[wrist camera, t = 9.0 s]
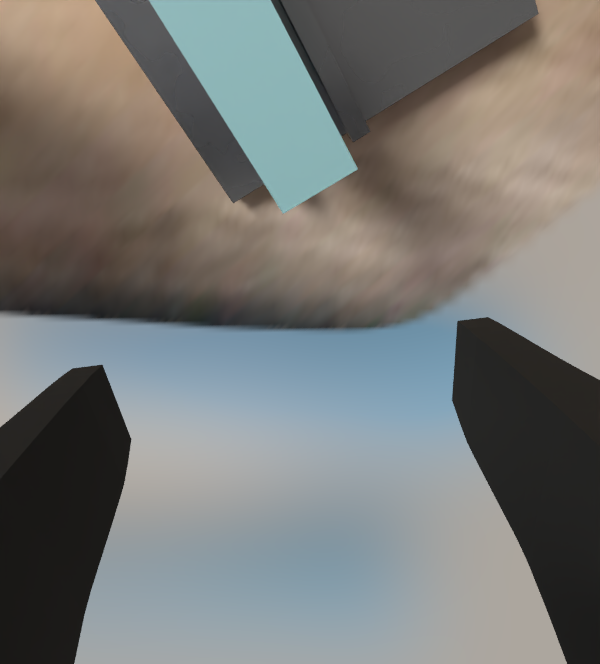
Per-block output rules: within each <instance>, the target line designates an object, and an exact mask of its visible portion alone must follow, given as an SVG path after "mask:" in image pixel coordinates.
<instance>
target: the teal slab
mask: <svg viewBox="0 0 600 664" xmlns="http://www.w3.org/2000/svg"><path fill="white" fill-rule="evenodd" d="M149 1H150V3H151V5H152V6H153V8H154V9H155V11H156V13H157V14H158V16H159V17H160V19H161V21H162V22H163V24H164V25H165V27H166V29H167V30H168V32H169V33H170V35H171V36H172V38H173V40H174V41H175V43H176V44H177V46H178V48H179V49H180V51H181V52H182V54H183V56H184V57H185V59H186V60H187V62H188V63H189V65H190V67H191V68H192V70H193V71H194V73H195V75H196V76H197V78H198V79H199V81H200V83H201V84H202V86H203V87H204V89H205V90H206V92H207V94H208V95H209V97H210V98H211V100H212V102H213V103H214V105H215V106H216V108H217V110H218V111H219V113H220V114H221V116H222V118H223V119H224V121H225V122H226V124H227V125H228V127H229V129H230V130H231V132H232V133H233V135H234V137H235V138H236V140H237V141H238V143H239V145H240V146H241V148H242V149H243V151H244V152H245V154H246V156H247V157H248V159H249V160H250V162H251V164H252V165H253V167H254V168H255V170H256V172H257V173H258V175H259V176H260V178H261V180H262V181H263V183H264V184H265V186H266V187H267V189H268V191H269V192H270V194H271V195H272V197H273V199H274V200H275V202H276V203H277V205H278V207H279V208H280V210H281V211H282V213H283V214H284V213H285V212H287V211H289V210H290V209H292V208H294V207H295V206H297V205H299V204H300V203H302V202H304V201H306V200H307V199H309V198H311V197H312V196H314V195H316V194H317V193H319V192H321V191H322V190H324V189H326V188H327V187H329V186H331V185H332V184H334V183H336V182H337V181H339V180H341V179H342V178H344V177H346V176H347V175H349V174H351V173H352V172H354V171H356V170H357V169H358V168H357V166H356V164H355V162H354V160H353V158H352V157H351V155H350V153H349V151H348V149H347V147H346V145H345V143H344V141H343V139H342V137H341V135H340V133H339V131H338V129H337V128H336V126H335V124H334V122H333V120H332V118H331V116H330V114H329V112H328V110H327V108H326V106H325V104H324V102H323V100H322V99H321V97H320V95H319V93H318V91H317V89H316V87H315V85H314V83H313V81H312V79H311V77H310V75H309V73H308V71H307V70H306V68H305V66H304V64H303V62H302V60H301V58H300V56H299V54H298V52H297V50H296V48H295V46H294V44H293V42H292V41H291V39H290V37H289V35H288V33H287V31H286V29H285V27H284V25H283V23H282V21H281V19H280V17H279V15H278V13H277V12H276V10H275V8H274V6H273V4H272V2H271V0H149Z"/></svg>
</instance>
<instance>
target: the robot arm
mask: <svg viewBox="0 0 600 664" xmlns="http://www.w3.org/2000/svg"><path fill="white" fill-rule="evenodd" d="M456 338H457V339H456V353H455V366H454V367H455V368H454V382H453V397H452V401H453V404H454V406H455V410H456V413H457V416H458V418H459V421H460V424H461V427H462V430H463V432H464V435H465V438H466V440H467V443H468V444H469V447H470V449H471V451H472V453H473V455H474V457H475V459H476V461H477V463H478V465H479V467H480V469H481V470H482V472H483V474H484V476H485V478H486V480H487V482H488V484H489V486H490V488H491V490H492V492H493V493H494V496H495V497H496V499H497V501H498V503H499V505H500V507H501V509H502V511H503V513H504V515H505V517H506V519H507V520H508V522H509V524H510V526H511V528H512V530H513V531H514V534H515V536H516V538H517V540H518V542H519V544H520V546H521V548H522V550H523V553H524V555H525V557H526V559H527V561H528V564H529V566H530V569H531V571H532V573H533V576H534V579H535V581H536V583H537V586H538V589H539V591H540V594H541V596H542V599H543V601H544V603H545V606H546V609H547V611H548V614H549V617H550V619H551V622H552V624H553V627H554V630H555V632H556V635H557V638H558V640H559V643H560V646H561V648H562V651H563V654H564V656H565V659H566V661H567V664H600V380H598V379H596V378H595V377H593V376H591V375H589V374H587V373H585V372H583V371H581V370H580V369H578V368H576V367H574V366H572V365H571V364H569V363H567V362H565V361H563V360H562V359H560V358H558V357H556V356H555V355H553V354H551V353H550V352H548V351H546V350H544V349H543V348H541V347H539V346H538V345H536V344H534V343H532V342H531V341H529V340H527V339H526V338H524V337H522V336H521V335H519V334H517V333H515V332H514V331H512V330H510V329H509V328H507V327H505V326H503V325H502V324H500V323H498V322H496V321H494V320H492V319H490V318H488V317H487V318H479V319H470V320H462V321H458V323H457V337H456ZM130 444H131V438H130V435H129V432H128V430H127V427H126V425H125V422H124V419H123V417H122V414H121V412H120V409H119V407H118V404H117V401H116V399H115V396H114V394H113V391H112V389H111V386H110V383H109V381H108V378H107V376H106V373H105V370H104V368H103V365H97V366H90V367H81V368H73V369H71V370H70V371H69V372H67V373H66V374H64V375H63V376H62V377H60V378H59V379H58V380H57V381H55V382H54V383H53V384H51V385H50V386H49V387H48V388H47V389H45V390H44V391H43V392H42V393H41V394H39V395H38V396H37V397H36V398H35V399H34V400H33V401H31V402H30V403H29V404H28V405H27V406H25V407H24V408H23V409H22V410H21V411H20V412H18V413H17V414H16V415H15V416H14V417H12V418H11V419H10V420H9V421H8V422H6V423H5V424H4V425H3V426H1V427H0V664H74V662H75V657H76V652H77V647H78V642H79V638H80V633H81V628H82V623H83V619H84V614H85V610H86V607H87V602H88V599H89V596H90V592H91V588H92V585H93V582H94V579H95V576H96V573H97V569H98V566H99V563H100V560H101V557H102V554H103V550H104V547H105V544H106V541H107V538H108V535H109V532H110V528H111V525H112V522H113V519H114V516H115V512H116V509H117V506H118V503H119V499H120V496H121V492H122V489H123V485H124V481H125V476H126V470H127V465H128V458H129V451H130Z"/></svg>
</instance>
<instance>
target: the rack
mask: <svg viewBox="0 0 600 664" xmlns="http://www.w3.org/2000/svg"><path fill="white" fill-rule="evenodd" d="M95 1H96V2H97V4H98V5H99V7H100V8H101V10H102V11H103V13H104V14H105V16H106V17H107V18H108V20H109V21H110V23H111V24H112V26H113V27H114V29H115V30H116V32H117V33H118V35H119V36H120V38H121V39H122V41H123V42H124V43H125V45H126V46H127V48H128V49H129V51H130V52H131V54H132V55H133V57H134V58H135V60H136V61H137V63H138V64H139V66H140V67H141V68H142V70H143V71H144V73H145V74H146V76H147V77H148V79H149V80H150V82H151V83H152V85H153V86H154V88H155V89H156V91H157V92H158V93H159V95H160V96H161V98H162V99H163V101H164V102H165V104H166V105H167V107H168V108H169V110H170V111H171V113H172V114H173V116H174V117H175V118H176V120H177V121H178V123H179V124H180V126H181V127H182V129H183V130H184V132H185V133H186V135H187V136H188V138H189V139H190V141H191V142H192V143H193V145H194V146H195V148H196V149H197V151H198V152H199V154H200V155H201V157H202V158H203V160H204V161H205V163H206V164H207V166H208V167H209V168H210V170H211V171H212V173H213V174H214V176H215V177H216V179H217V180H218V182H219V183H220V185H221V186H222V188H223V189H224V191H225V192H226V193H227V195H228V196H229V198H230V199H231V201H232V202H233V203H234V202H236V201H238V200H239V199H241V198H243V197H244V196H246V195H247V194H249V193H251V192H252V191H254V190H255V189H257V188H259V187H260V186H262V185H263V184H264V183H263V181H262V180H261V178H260V176H259V175H258V173H257V172H256V170H255V168H254V167H253V165H252V164H251V162H250V160H249V159H248V157H247V156H246V154H245V152H244V151H243V149H242V148H241V146H240V145H239V143H238V141H237V140H236V138H235V137H234V135H233V133H232V132H231V130H230V129H229V127H228V125H227V124H226V122H225V121H224V119H223V118H222V116H221V114H220V113H219V111H218V110H217V108H216V106H215V105H214V103H213V102H212V100H211V98H210V97H209V95H208V94H207V92H206V90H205V89H204V87H203V86H202V84H201V83H200V81H199V79H198V78H197V76H196V75H195V73H194V71H193V70H192V68H191V67H190V65H189V63H188V62H187V60H186V59H185V57H184V56H183V54H182V52H181V51H180V49H179V48H178V46H177V44H176V43H175V41H174V40H173V38H172V36H171V35H170V33H169V32H168V30H167V29H166V27H165V25H164V24H163V22H162V21H161V19H160V17H159V16H158V14H157V13H156V11H155V9H154V8H153V6H152V5H151V3H150V1H149V0H95ZM271 2H272V4H273V6H274V8H275V10H276V12H277V13H278V15H279V17H280V19H281V21H282V23H283V25H284V27H285V29H286V31H287V33H288V35H289V37H290V39H291V41H292V42H293V44H294V46H295V48H296V50H297V52H298V54H299V56H300V58H301V60H302V62H303V64H304V66H305V68H306V70H307V71H308V73H309V75H310V77H311V79H312V81H313V83H314V85H315V87H316V89H317V91H318V93H319V95H320V97H321V99H322V100H323V102H324V104H325V106H326V108H327V110H328V112H329V114H330V116H331V118H332V120H333V122H334V124H335V126H336V128H337V129H338V131H339V133H340V135H341V136H342V135H344V134H346V133H347V135H348V136H349V137H350V139H351V140H352V141H353V142H354V141H356V140H358V139H359V138H361V137H363V136H364V135H366V134H367V133H369V132H370V130H369V128H368V126H367V124H366V122H365V121H366V120H368V119H370V118H371V117H373V116H375V115H376V114H378V113H379V112H381V111H383V110H384V109H386V108H387V107H389V106H391V105H392V104H394V103H395V102H397V101H399V100H400V99H402V98H404V97H405V96H407V95H408V94H410V93H412V92H413V91H415V90H416V89H418V88H420V87H421V86H423V85H424V84H426V83H428V82H429V81H431V80H432V79H434V78H436V77H437V76H439V75H441V74H442V73H444V72H445V71H447V70H449V69H450V68H452V67H453V66H455V65H457V64H458V63H460V62H461V61H463V60H465V59H466V58H468V57H470V56H471V55H473V54H474V53H476V52H478V51H479V50H481V49H482V48H484V47H486V46H487V45H489V44H490V43H492V42H494V41H495V40H497V39H499V38H500V37H502V36H503V35H505V34H507V33H508V32H510V31H511V30H513V29H515V28H516V27H518V26H519V25H521V24H523V23H524V22H526V21H527V20H529V19H531V18H532V17H534V16H536V15H537V14H539V13H538V10H537V6H536V3H535V0H271Z"/></svg>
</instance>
